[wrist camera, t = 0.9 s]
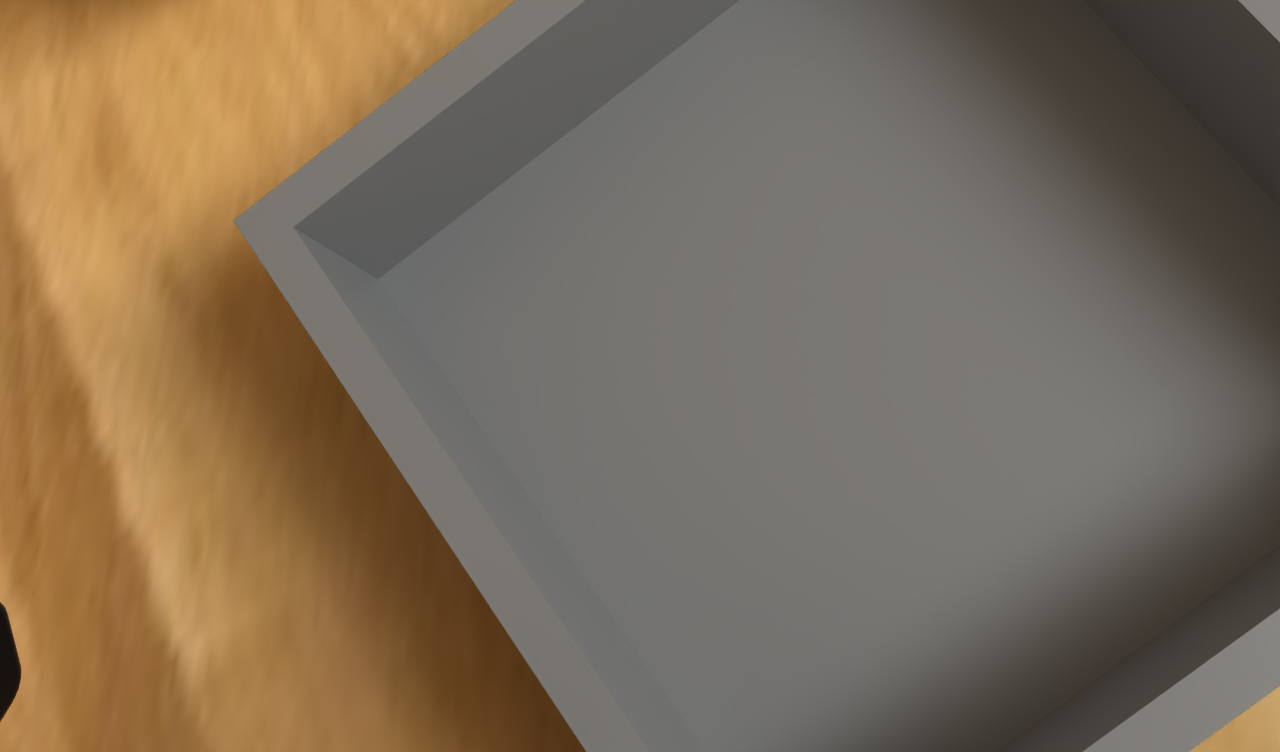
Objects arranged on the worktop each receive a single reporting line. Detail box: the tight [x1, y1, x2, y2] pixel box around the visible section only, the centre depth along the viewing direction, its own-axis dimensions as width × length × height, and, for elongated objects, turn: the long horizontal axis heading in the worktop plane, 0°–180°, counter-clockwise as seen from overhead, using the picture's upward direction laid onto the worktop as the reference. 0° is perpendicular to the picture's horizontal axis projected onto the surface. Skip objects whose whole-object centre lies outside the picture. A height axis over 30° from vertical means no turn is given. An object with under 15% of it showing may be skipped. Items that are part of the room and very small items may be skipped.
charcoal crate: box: [233, 0, 1280, 752], centre depth 20 cm, size 16×16×4 cm
